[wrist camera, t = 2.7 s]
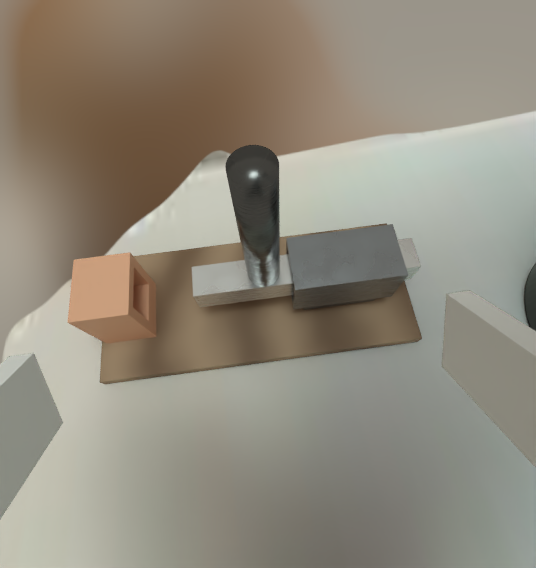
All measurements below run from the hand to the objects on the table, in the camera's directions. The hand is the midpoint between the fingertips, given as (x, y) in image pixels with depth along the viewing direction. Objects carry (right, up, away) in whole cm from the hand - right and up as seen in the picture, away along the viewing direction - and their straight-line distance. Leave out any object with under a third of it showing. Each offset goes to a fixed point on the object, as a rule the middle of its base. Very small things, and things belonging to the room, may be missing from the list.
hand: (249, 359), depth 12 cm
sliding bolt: (+3, +3, +17) cm, 18 cm away
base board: (0, +1, +20) cm, 20 cm away
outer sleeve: (+6, +2, +19) cm, 20 cm away
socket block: (-11, 0, +19) cm, 22 cm away
